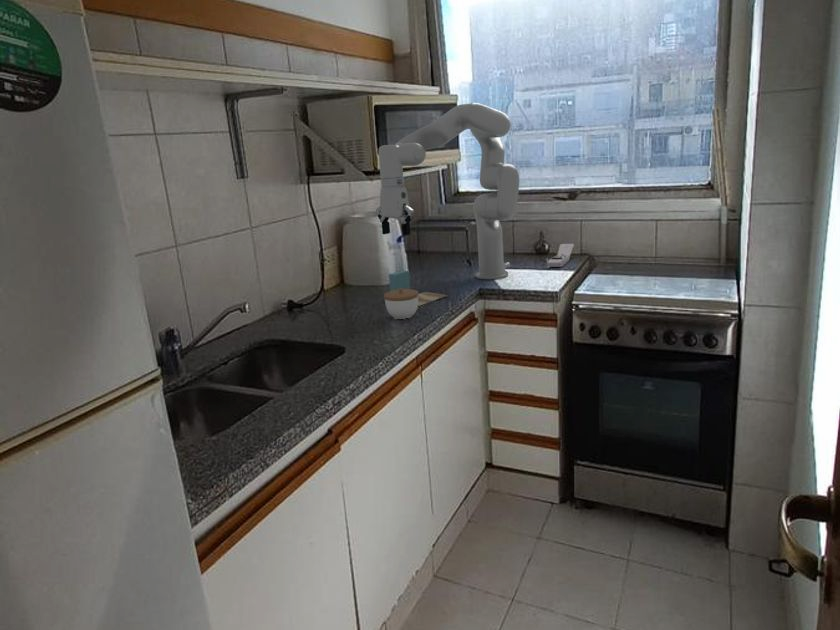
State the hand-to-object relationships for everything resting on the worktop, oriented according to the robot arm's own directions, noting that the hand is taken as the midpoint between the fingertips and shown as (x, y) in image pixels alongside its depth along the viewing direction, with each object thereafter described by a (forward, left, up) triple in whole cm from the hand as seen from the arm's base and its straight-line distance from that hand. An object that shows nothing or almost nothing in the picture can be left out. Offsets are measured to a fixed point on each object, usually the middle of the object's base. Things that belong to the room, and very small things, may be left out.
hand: (396, 234), depth 208 cm
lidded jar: (+15, +16, -23) cm, 32 cm away
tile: (-2, -2, -23) cm, 23 cm away
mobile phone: (-74, +18, -23) cm, 79 cm away
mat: (-2, +7, -23) cm, 24 cm away
